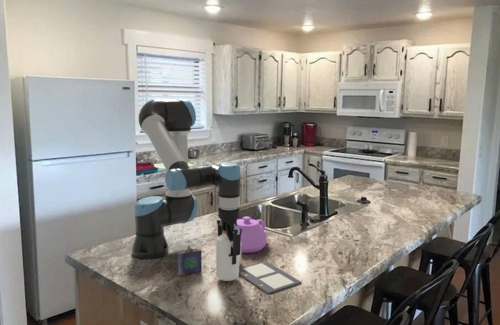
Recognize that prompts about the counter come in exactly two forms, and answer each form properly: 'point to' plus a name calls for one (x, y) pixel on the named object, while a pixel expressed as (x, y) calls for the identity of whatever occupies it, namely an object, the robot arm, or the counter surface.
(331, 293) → the counter surface
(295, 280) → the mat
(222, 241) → the white bottle
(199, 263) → the flask
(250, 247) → the teapot
